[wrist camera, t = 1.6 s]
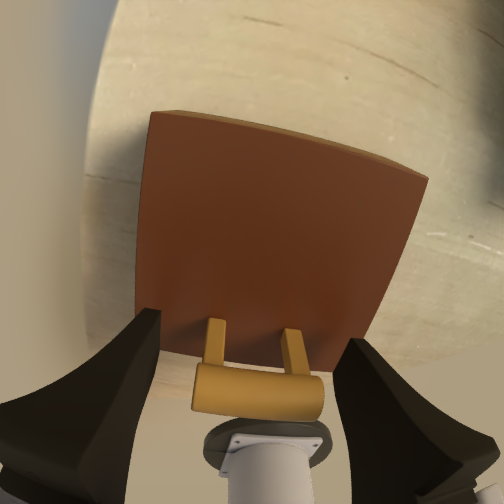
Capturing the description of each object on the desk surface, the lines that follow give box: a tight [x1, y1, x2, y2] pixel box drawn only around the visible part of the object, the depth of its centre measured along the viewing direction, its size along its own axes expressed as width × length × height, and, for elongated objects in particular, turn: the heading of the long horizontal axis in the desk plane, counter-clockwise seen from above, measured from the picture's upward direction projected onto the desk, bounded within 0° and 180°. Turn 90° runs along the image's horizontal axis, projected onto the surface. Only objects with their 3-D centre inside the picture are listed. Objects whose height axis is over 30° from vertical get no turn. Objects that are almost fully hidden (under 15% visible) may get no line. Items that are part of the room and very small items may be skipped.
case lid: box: [135, 111, 429, 422], centre depth 10 cm, size 9×10×5 cm
